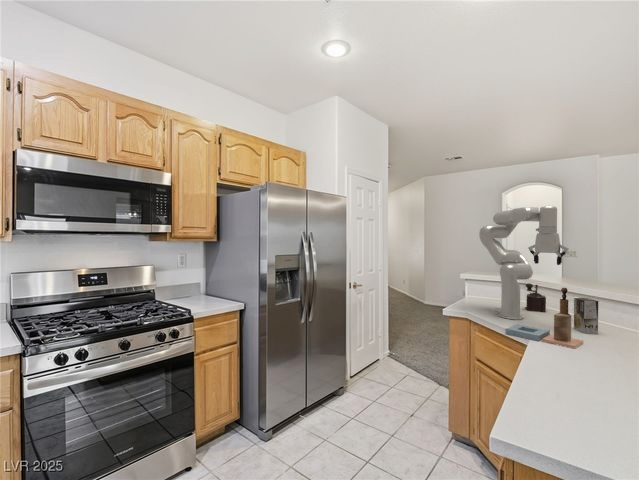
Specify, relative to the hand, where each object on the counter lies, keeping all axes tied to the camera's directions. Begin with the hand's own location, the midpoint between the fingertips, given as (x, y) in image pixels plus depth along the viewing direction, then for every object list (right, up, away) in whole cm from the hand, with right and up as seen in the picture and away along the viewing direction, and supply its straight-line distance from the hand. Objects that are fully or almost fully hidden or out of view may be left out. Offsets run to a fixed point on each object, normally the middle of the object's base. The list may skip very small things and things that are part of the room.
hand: (547, 264), depth 165 cm
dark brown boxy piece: (+23, -34, +43) cm, 59 cm away
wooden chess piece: (+26, -34, +22) cm, 48 cm away
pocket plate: (-16, -33, -10) cm, 38 cm away
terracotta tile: (-8, -33, -21) cm, 40 cm away
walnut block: (-8, -32, -21) cm, 39 cm away
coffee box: (+17, -34, -3) cm, 38 cm away
